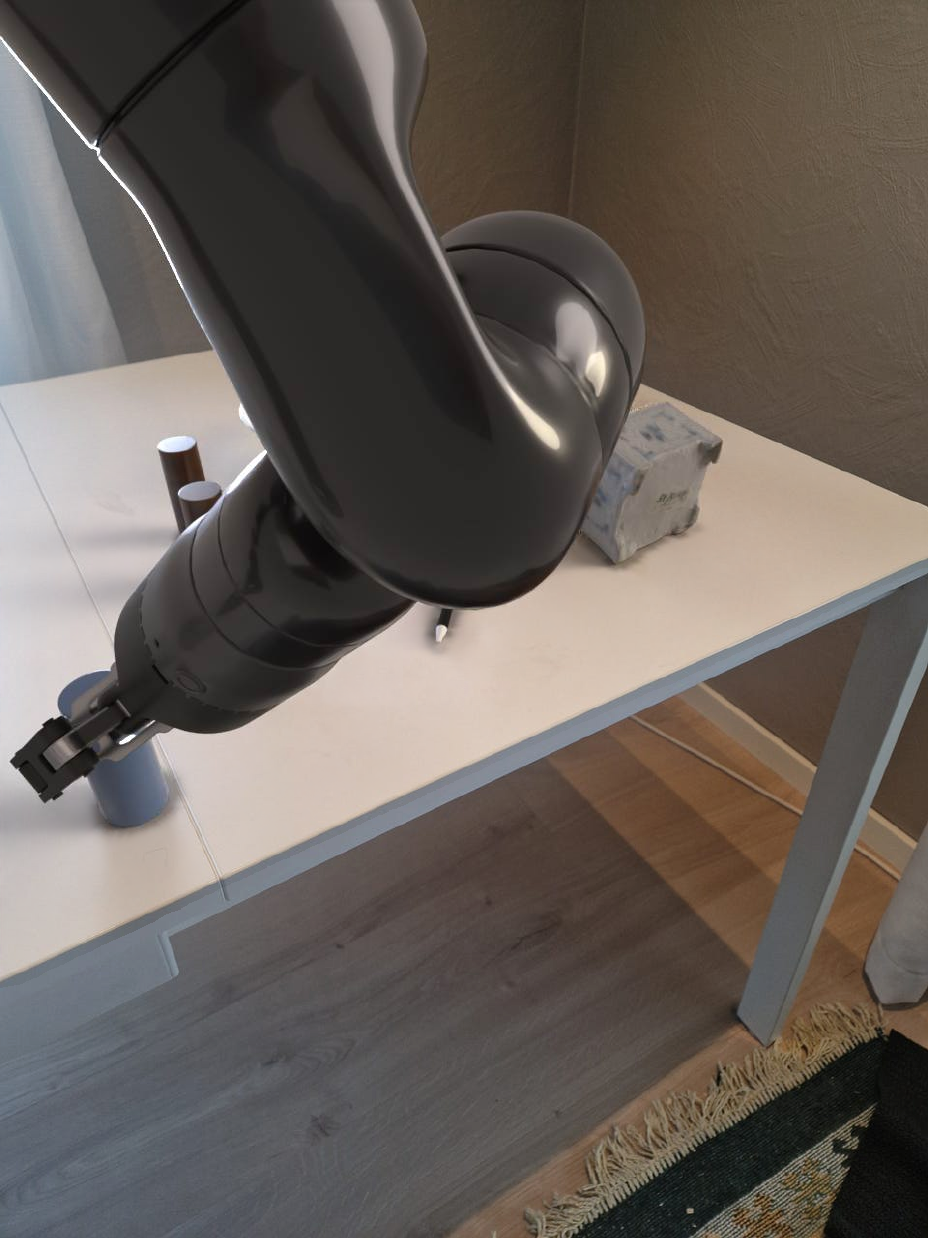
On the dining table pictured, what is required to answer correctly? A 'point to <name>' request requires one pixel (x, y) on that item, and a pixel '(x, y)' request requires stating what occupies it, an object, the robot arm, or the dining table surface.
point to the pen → (443, 623)
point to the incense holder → (651, 480)
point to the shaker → (121, 771)
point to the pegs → (186, 480)
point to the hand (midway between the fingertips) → (128, 716)
